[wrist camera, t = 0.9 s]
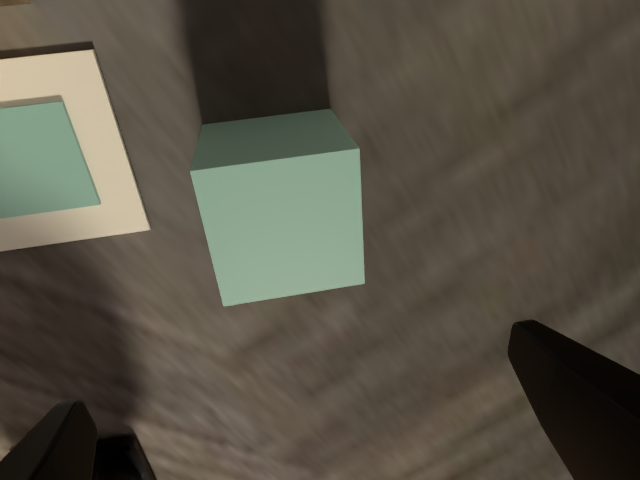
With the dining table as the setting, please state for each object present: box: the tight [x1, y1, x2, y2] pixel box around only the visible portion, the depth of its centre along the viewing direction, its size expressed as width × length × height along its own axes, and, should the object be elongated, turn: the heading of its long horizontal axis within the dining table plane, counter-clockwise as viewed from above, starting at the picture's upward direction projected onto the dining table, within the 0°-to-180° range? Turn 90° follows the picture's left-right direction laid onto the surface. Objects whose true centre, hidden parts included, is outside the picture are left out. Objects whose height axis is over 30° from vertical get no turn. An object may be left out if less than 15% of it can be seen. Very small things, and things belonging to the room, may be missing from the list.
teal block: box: [190, 109, 365, 306], centre depth 16 cm, size 5×5×5 cm
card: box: [0, 49, 151, 251], centre depth 16 cm, size 7×7×1 cm
